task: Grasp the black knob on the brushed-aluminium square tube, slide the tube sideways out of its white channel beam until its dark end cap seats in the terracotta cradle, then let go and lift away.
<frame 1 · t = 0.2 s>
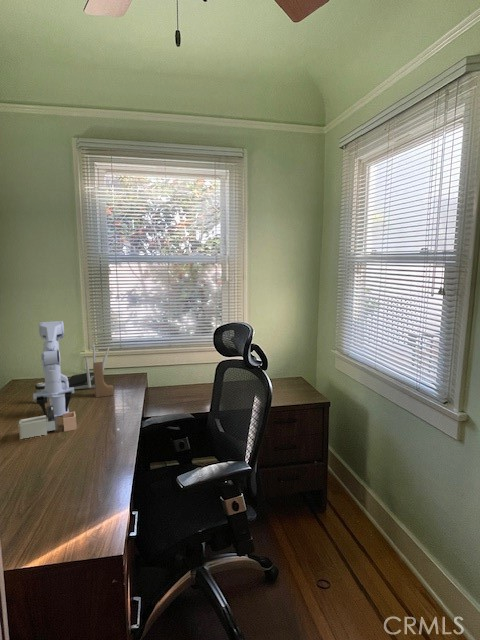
hand: (55, 412, 145), 10 cm above the table, fingers open, 7 cm apart
socket: (70, 427, 154), on the table
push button: (41, 402, 182), on the table
wireless router: (89, 383, 212), on the table
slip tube: (40, 419, 148), point 6 cm above the table, slide at 0.0 cm
white channel beam: (34, 434, 147), on the table
wooden block: (104, 395, 192), on the table
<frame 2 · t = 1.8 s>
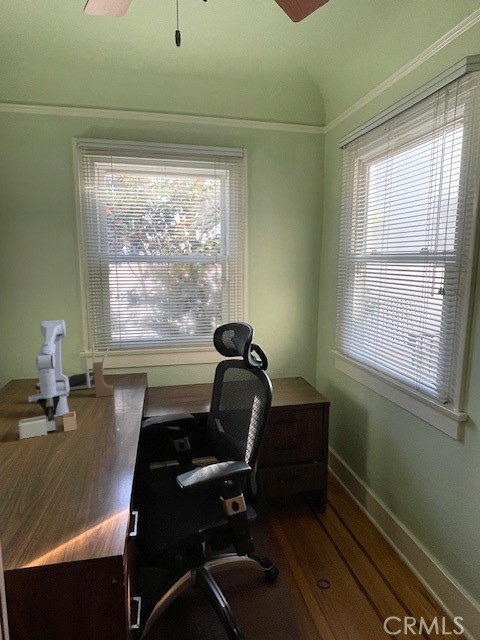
hand: (50, 414, 149), 7 cm above the table, fingers closed on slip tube, 2 cm apart
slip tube: (40, 419, 148), point 6 cm above the table, slide at 0.0 cm, touching gripper
everything else where it was.
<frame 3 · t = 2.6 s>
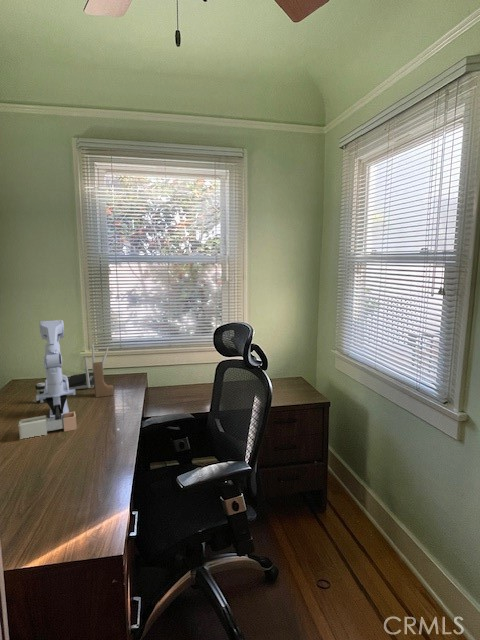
hand: (57, 413, 150), 7 cm above the table, fingers closed on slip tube, 2 cm apart
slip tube: (47, 418, 149), point 6 cm above the table, slide at 2.7 cm, touching gripper
everything else where it was.
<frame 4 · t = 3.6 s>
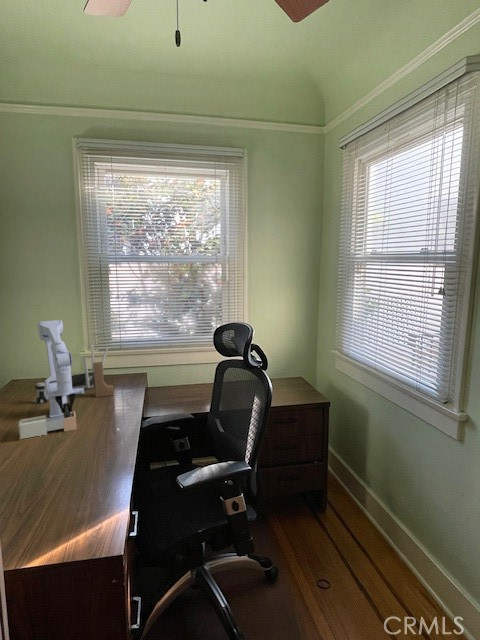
hand: (66, 411, 152), 7 cm above the table, fingers closed on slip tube, 2 cm apart
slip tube: (56, 416, 150), point 6 cm above the table, slide at 6.1 cm, touching gripper
everything else where it was.
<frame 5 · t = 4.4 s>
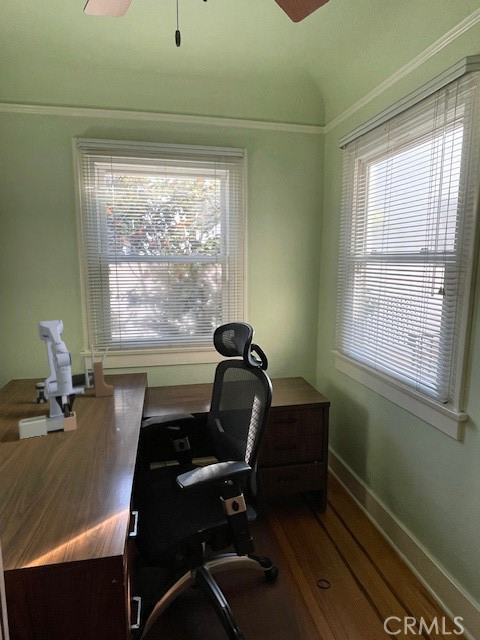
hand: (66, 411, 152), 7 cm above the table, fingers closed on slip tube, 2 cm apart
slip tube: (56, 416, 150), point 6 cm above the table, slide at 6.1 cm, touching gripper
everything else where it was.
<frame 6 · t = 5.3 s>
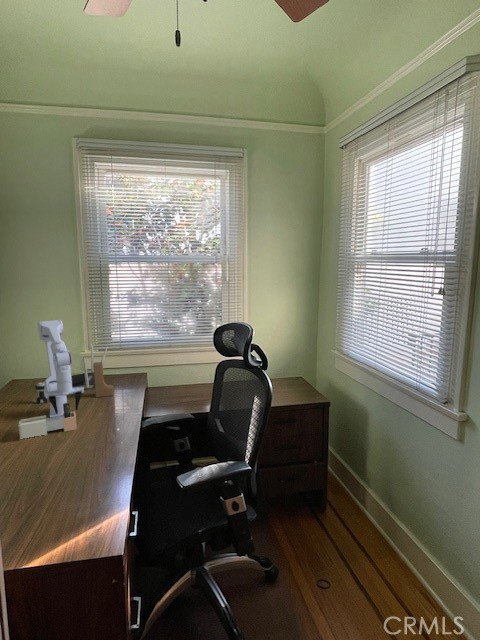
hand: (66, 411, 152), 8 cm above the table, fingers open, 7 cm apart
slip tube: (56, 416, 150), point 6 cm above the table, slide at 6.1 cm
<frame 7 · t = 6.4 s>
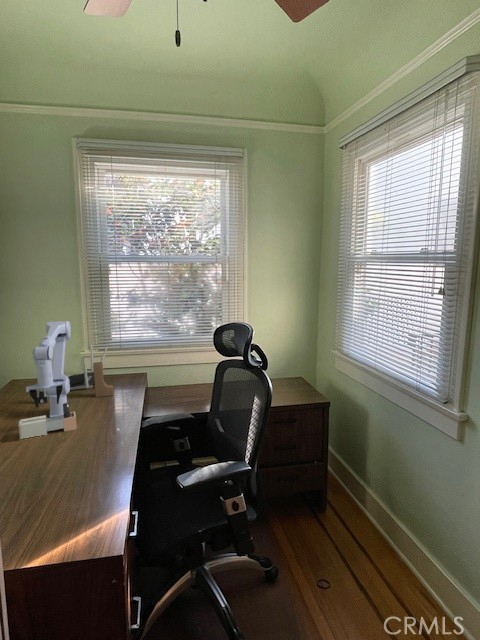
hand: (47, 404, 153), 10 cm above the table, fingers open, 7 cm apart
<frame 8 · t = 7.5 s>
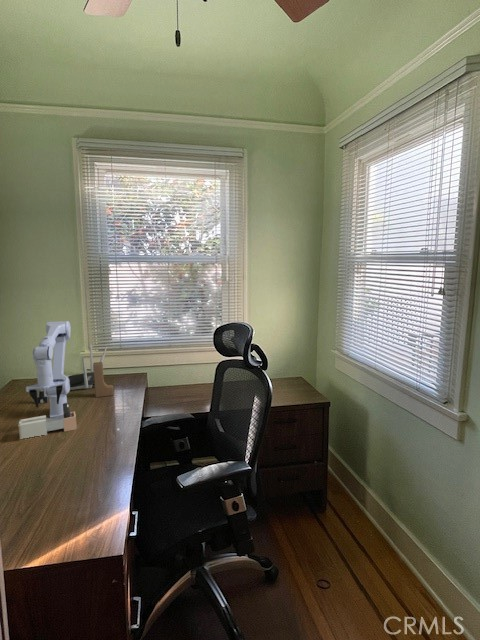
hand: (47, 404, 153), 10 cm above the table, fingers open, 7 cm apart
at the end: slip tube slide at 6.0 cm; the gripper is holding nothing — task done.
